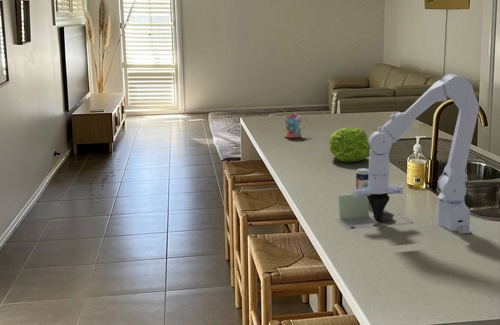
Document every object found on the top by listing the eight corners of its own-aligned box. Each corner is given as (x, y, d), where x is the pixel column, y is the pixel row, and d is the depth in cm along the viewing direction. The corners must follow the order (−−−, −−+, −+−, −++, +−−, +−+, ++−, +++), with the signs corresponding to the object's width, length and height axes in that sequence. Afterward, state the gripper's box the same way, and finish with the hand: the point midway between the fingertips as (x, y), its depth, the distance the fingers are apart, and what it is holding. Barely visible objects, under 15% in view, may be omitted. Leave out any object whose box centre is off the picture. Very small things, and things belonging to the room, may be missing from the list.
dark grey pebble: (393, 224, 190) (396, 216, 190) (380, 221, 188) (383, 213, 188) (384, 218, 195) (387, 210, 194) (371, 215, 193) (374, 207, 192)
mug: (284, 139, 319) (284, 117, 317) (282, 135, 328) (282, 114, 326) (308, 138, 320) (308, 117, 318) (306, 135, 329) (306, 114, 327)
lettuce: (360, 153, 289) (355, 121, 287) (377, 159, 265) (371, 124, 263) (323, 161, 287) (317, 129, 285) (336, 167, 263) (330, 132, 261)
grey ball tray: (413, 227, 188) (413, 221, 188) (346, 234, 184) (346, 227, 183) (399, 218, 197) (399, 212, 196) (335, 224, 192) (335, 218, 192)
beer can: (359, 202, 214) (360, 167, 211) (372, 204, 211) (373, 169, 208) (352, 205, 210) (353, 169, 207) (365, 208, 207) (366, 172, 204)
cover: (367, 193, 194) (366, 192, 195) (339, 195, 192) (337, 195, 193) (368, 216, 194) (367, 215, 196) (340, 219, 192) (338, 218, 194)
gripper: (396, 168, 191) (394, 212, 194) (349, 172, 188) (348, 216, 191) (407, 174, 184) (405, 219, 187) (359, 178, 181) (358, 224, 184)
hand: (377, 218), depth 189 cm, fingers closed
